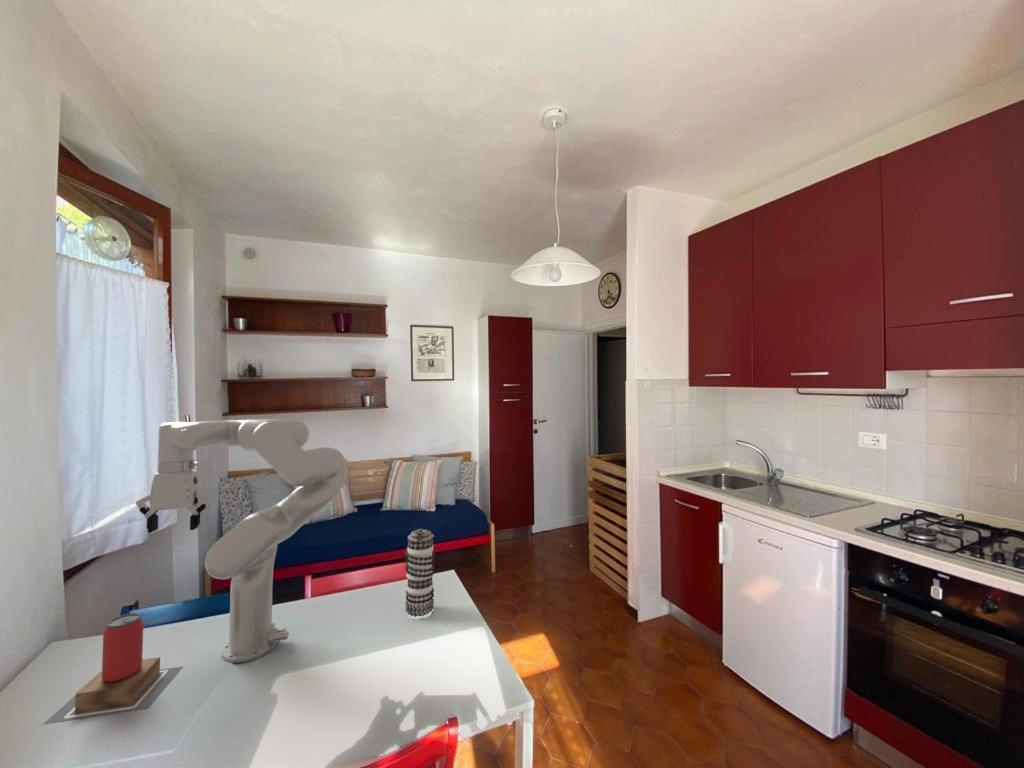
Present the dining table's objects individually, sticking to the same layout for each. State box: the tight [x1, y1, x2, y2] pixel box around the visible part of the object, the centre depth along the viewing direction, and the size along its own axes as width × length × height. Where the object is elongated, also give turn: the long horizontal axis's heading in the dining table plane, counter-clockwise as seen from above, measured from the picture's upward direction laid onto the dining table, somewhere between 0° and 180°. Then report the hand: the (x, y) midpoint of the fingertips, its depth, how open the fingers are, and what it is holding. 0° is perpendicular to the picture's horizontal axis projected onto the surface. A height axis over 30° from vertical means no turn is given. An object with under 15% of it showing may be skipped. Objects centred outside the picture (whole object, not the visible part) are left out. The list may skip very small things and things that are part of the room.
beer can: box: [101, 612, 144, 682], centre depth 92 cm, size 7×7×12 cm
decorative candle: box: [404, 528, 436, 617], centre depth 127 cm, size 9×9×25 cm
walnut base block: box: [75, 656, 161, 713], centre depth 92 cm, size 10×10×4 cm
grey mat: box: [43, 666, 184, 725], centre depth 92 cm, size 18×14×1 cm
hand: (173, 529), depth 112 cm, fingers open, 9 cm apart
